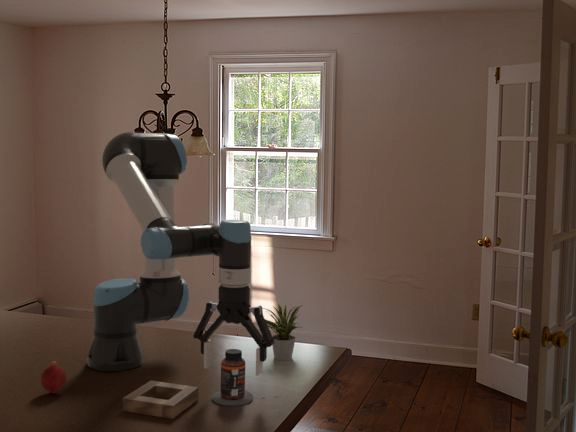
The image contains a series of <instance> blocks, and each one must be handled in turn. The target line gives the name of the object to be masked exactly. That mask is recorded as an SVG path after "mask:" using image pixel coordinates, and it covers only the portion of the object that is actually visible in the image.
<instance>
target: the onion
mask: <svg viewBox="0 0 576 432" xmlns="http://www.w3.org/2000/svg"><path fill="white" fill-rule="evenodd" d="M66 382H67V375H66V372H65V370H64V369H63V368H62V367H60V366H58V363H57V361H52V362H51V363H50V365H48V366H47V367H46V368H45V369H44V370H43V372H42V373H41V376H40V385H41V386H42V388H43V389H44V390H45V391H47V392H48V393H51V394H57V392H59V391H60V390H61V389H62V388H63V387H64V386H65V384H66Z"/></svg>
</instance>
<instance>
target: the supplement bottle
mask: <svg viewBox="0 0 576 432" xmlns="http://www.w3.org/2000/svg"><path fill="white" fill-rule="evenodd" d="M224 356H225V357H224V358H223V359H222V360H221V362H220V390H221V396H222V397H223V398H225V399H231V400H235V399H240V398H242V397H243V396H244V394H245V391H246V388H245V387H246V360H245V359H244V358H243V357H242V356H243V352H242V350H241V349H239V348H238V349H237V348H229V349H226V350H225V353H224Z"/></svg>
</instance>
